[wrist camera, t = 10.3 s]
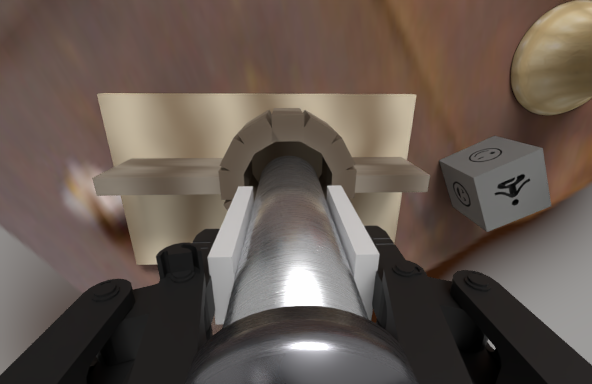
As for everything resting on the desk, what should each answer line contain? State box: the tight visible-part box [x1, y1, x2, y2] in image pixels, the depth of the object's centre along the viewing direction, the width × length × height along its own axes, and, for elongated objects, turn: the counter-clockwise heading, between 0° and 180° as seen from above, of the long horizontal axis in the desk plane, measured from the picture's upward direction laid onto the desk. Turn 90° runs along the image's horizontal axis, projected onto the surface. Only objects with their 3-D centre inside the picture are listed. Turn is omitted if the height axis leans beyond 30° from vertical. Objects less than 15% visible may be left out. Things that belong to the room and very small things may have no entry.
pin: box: [185, 156, 419, 384], centre depth 12 cm, size 5×5×15 cm
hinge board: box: [92, 93, 430, 265], centre depth 22 cm, size 24×15×6 cm, turn 90°
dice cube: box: [439, 136, 551, 232], centre depth 24 cm, size 5×5×5 cm
